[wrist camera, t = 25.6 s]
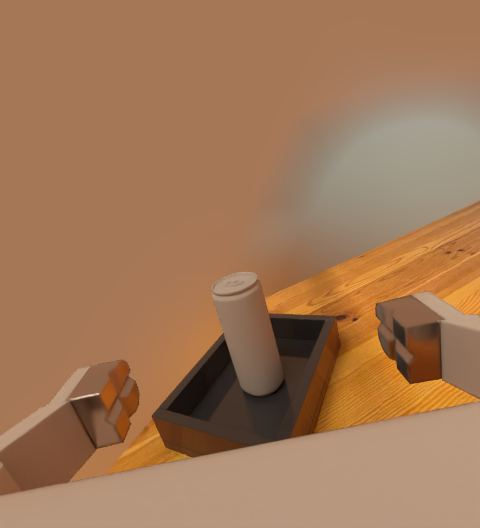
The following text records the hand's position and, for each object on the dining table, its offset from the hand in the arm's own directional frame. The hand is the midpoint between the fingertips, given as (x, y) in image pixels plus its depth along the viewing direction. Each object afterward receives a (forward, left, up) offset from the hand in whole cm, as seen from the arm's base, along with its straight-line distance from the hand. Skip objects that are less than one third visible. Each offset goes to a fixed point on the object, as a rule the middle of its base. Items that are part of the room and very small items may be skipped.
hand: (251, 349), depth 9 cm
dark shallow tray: (+5, +17, -18) cm, 25 cm away
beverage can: (+5, +17, -17) cm, 25 cm away
